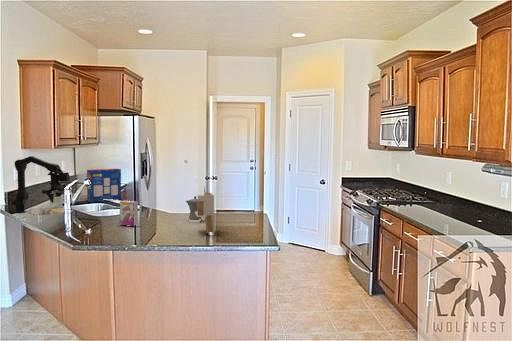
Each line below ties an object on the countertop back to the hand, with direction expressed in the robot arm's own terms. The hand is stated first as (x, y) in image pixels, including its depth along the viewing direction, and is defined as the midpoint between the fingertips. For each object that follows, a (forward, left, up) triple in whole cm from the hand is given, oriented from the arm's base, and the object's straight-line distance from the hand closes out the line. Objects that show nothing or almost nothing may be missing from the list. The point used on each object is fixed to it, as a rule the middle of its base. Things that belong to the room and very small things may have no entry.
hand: (55, 201), depth 318 cm
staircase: (+130, -7, -9) cm, 131 cm away
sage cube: (0, 0, -1) cm, 1 cm away
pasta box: (-12, +67, -9) cm, 69 cm away
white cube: (-10, -8, -9) cm, 15 cm away
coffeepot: (+108, +23, -9) cm, 111 cm away
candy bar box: (+76, -11, -9) cm, 77 cm away
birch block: (0, 0, -9) cm, 9 cm away
